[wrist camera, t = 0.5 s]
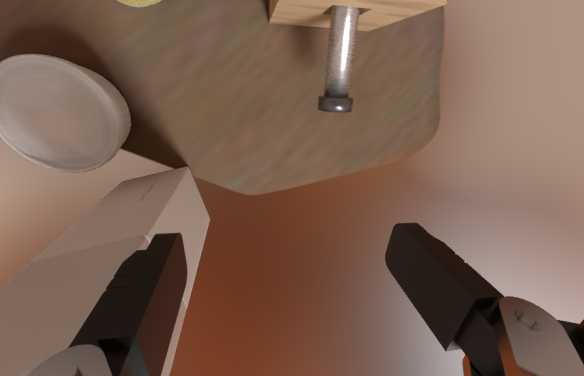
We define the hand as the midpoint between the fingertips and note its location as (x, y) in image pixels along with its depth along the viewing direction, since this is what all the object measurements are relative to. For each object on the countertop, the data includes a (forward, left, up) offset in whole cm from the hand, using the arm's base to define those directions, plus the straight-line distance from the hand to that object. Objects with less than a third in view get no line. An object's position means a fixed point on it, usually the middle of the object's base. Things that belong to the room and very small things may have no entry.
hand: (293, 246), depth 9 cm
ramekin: (-1, -20, -26) cm, 32 cm away
